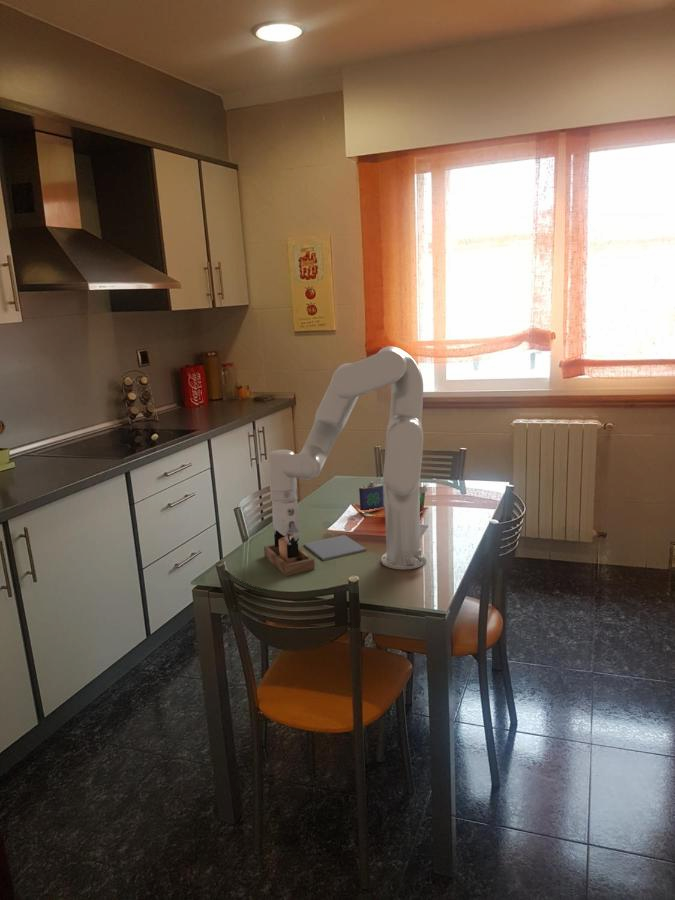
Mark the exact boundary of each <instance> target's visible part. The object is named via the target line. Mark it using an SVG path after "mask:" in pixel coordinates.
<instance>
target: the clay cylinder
mask: <svg viewBox="0 0 675 900" xmlns="http://www.w3.org/2000/svg"><path fill="white" fill-rule="evenodd" d="M292 537H293V536H291V537H290V540H291V538H292ZM287 544H288V542H287V539H286V537H282V538H280V539H279V554H278V555H279V557H280V558H281V559H282V560H283V561H285V562H286V563H287V564H289V563H293V562H298V561H299V559H298V558H297V557H294V558H288V557H287Z"/></svg>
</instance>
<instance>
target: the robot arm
mask: <svg viewBox="0 0 675 900" xmlns="http://www.w3.org/2000/svg"><path fill="white" fill-rule="evenodd" d="M389 385H390V386H391V392H390V393H391V395H390V407H389V408H390V410H389V420H388V424H387V429H386V434H385V436H386V438H385V449H384V451H385V452H384V464H383V472H382V473H383V475H382V476H383V477H382V479H383V485H384V514H385V515H384V518H385V546H386V552H385V553H384V554H382V556H381V559H380V561H381V562H380V563H381V564H382V565H383V566H385V567H386V568H390V569H393V570H405V571H406V570H414V569H417V568H420V567H423V566H424V565H425V564H426V563H427V555H425V553H423V552H422V548H421V518H420V517H421V515H420V496H419V487H420V480H421V471H422V460H423V452H424V451H423V450H424V430H423V425H422V421H423V408H424V407H423V406H424V403H423V401H424V380H423V376H422V371H421V370H420V368H419V365H418V364H417V362H416V361H415V359H413V357H412V356H411V355H410V354H408V353H407V352H406V351H404V350H403V349H401V348H399V347H397V346H391V345H389V346H385V347H382V348H381V349H379V351H378V352H377V353H375V354H372V355H370V356H367V357H365V358H364V359H361V360H358V361H355V362H351V363H350V362H346V363H343V364H340V365H339V367H337V368H336V369H335V371H334V373H333V374H332V377H331V381H330V383H329V384H328V387H327V389H326V391H325V392H324V396H323V398H322V400H321V402H320V404H319V405H318V408H317V410H316V413H315V416H314V422H313V425H312V427H311V430H310V432H309V434H308V436H307V438H306V440H305V443H304V445H303V446H302V449H301V451H300V452H299V453H295V452H294V451H293V450H289V449H275V450H273V451H271V452H270V453H269V454H268V459H267V460H268V477H269V491H270V492H269V494H270V495H269V497H270V501H271V502H272V506H271V509H272V510H271V511H272V513H271V515H272V526H273V535H274V537H273V538H274V544H275V547H279V539H280V538H282V537H286V539H287V542H288V544H287V557H288V558H294V557H298V556H299V551H298V547H299V543H300V542H299V541H300V538H299V536H300V534H301V523H300V522H301V521H300V513H299V506H298V502H297V500H298V481H297V479H301V480H313V479H315V478H318V476H319V475H320V474H321V472H322V470H323V467H324V465H325V464H326V463H325V462H326V461H327V458H328V456H329V454H330V452H331V450H332V448H333V446H334V444H335V442H336V440H337V438H338V436H339V434H340V433H341V432H342V430H344V428H345V426H346V423H347V422H348V419H349V418H350V415H351V413H352V411H353V410H354V407H355V404H356V403H357V401H358V399H359V397H360V396H364V395H367V394H368V393H371V392H374V391H376V390H380V389H381V388H384V387H387V386H389ZM290 537H292V538H291V540H290Z"/></svg>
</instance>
